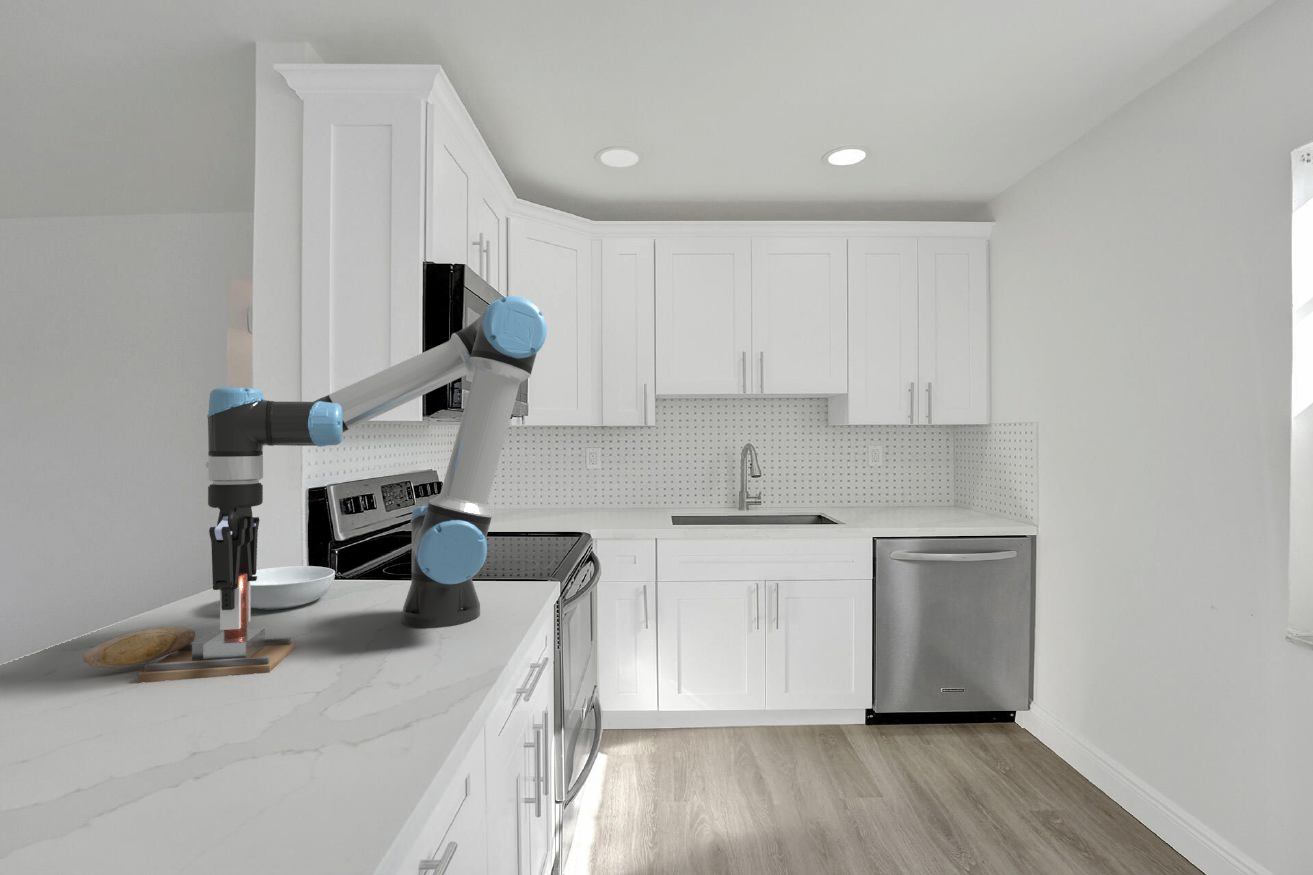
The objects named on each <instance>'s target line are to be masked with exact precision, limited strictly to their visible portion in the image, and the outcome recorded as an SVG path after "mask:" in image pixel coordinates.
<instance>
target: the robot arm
mask: <svg viewBox="0 0 1313 875" xmlns="http://www.w3.org/2000/svg"><path fill="white" fill-rule="evenodd" d="M547 332H548V326H547V321H546V318H545V316H544V314H543V313H542V311H541V309H540V308H539V307H538V306H537V305H536V304H534V303H533V302H532V301H530V299H527V298H524V297H523V296H522V297H521V296H516V295H514V296H513V295H510V296H504V297H501V298H498V299H495V300H494V301H492V302H491V303H490V304H489V305H488V306H487V307H486V309H485V311H484V312H483V313H481V315H480V316H479V317H478V318H477V319H475V321H473V322H472V323H470V324H469V325H467V326H465V327H464V328H462V329H460V330H459V331H455V332H453V333H452V334H451V336H450V340H447V341H446V342H443V343H441V344H440V345H437V346H435V347H432V348H430V349H428V350H426V351H424V352H422V353H419V354H417V355H415V356H413V357H410V358H407V359H406V360H403V361H401V362H399V363H397V364H395V365H392V366H391V367H388V368H386V369H383V370H381V371H379V372H377V373H375V374H372V375H370V376H368V377H365V378H363V379H361V380H359V381H356V382H354V383H352V384H350V385H348V386H345V387H343V388H341V389H339V390H336V391H334V392H332V393H330V394H328V395H325V396H323V397H320V398H318V399H316V400H313V401H274V400H265V397H264V393H263V391H262V390H261V389H260V388H253V387H227V386H223V387H216V388H214V389H212V390H211V391H210V393H209V399H208V401H209V402H208V413H207V415H206V416H207V417H206V418H207V431H208V432H207V435H208V436H207V437H208V438H207V439H208V461H207V462H205V467H206V468H208V476H207V478H208V480H209V481H211V482H212V483H211V484H209V486H208V487H207V504H208V506H209V507H210V508H213V509H218V510H219V514H218V519H217V523H216V524H217V526H210V527H209V530H208V533H209V538H210V543H211V544H210V545H211V564H212V565H211V570H212V572H211V573H212V591H213V590H214V591H218V590H219V630H220V631H224V630H230V629H240V628H241V588H237V587H238V578H239V573H247V623H251V607H250V590H251V582H249V581H256V580H257V576H252V575H255V574H256V570H257V559H258V537H259V535H258V534H259V532H258V530H259V526H260V525H259V524H260V517H259V516H253V509H252V508H253V507H257V506H261V505H262V504H263V501H264V496H263V494H264V491H263V490H264V488H263V484H262V483H261V482H260V481H261V480H262V479H263V478H264V456H263V454H264V452H263V449H264V446H269V447H270V446H271V447H274V446H282V447H283V446H288V447H290V446H291V447H293V446H295V447H296V446H297V447H303V446H304V447H305V446H306V447H310V446H311V447H314V446H315V447H318V448H319V447H321V448H322V447H327V446H337V445H339V444H341V443H342V441H343V433H345V432H346V431H348V430H351V429H353V428H355V427H357V426H359V425H362V424H364V423H366V422H368V421H370V420H372V419H374V418H377V417H378V416H381V415H383V414H385V413H387V412H389V411H392V410H393V409H396V408H398V407H400V406H402V405H405V404H407V403H409V402H411V401H413V400H415V399H417V398H419V397H422V396H424V395H426V394H428V393H430V392H432V391H434V390H436V389H438V388H441V387H443V386H445V385H447V384H450V383H452V382H454V381H456V380H458V379H461V378H462V377H464V376H468V375H469V376H472V381H471V385H470V388H469V391H468V395H467V398H466V402H465V406H464V409H463V412H462V416H461V420H460V423H459V427H458V430H457V433H456V437H455V440H454V444H453V447H452V450H451V451H452V452H451V455H450V459H449V462H448V466H447V470H446V473H445V476H444V480H443V482H442V487H441V490H440V493H439V494H437V495H436V496H435V497H434V498H433V497H432V499H430V500H429V502H428V505H426V506H425V505H423V506H417V507H414V509H412V513H411V518H410V519H411V520H410V524H411V581H410V585H409V589H408V592H407V595H406V597H405V601H404V604H403V607H402V611H401V621H402V622H401V623H403V625H405V626H408V627H411V628H412V627H413V628H418V629H440V628H448V627H455V626H460V625H463V624H467V623H470V622H473V621H475V620H477V619H478V618H479V617H480V616H481V603H480V600H479V596H478V594H477V591H476V588H475V585H474V581H473V579H472V578H473V577H474V576H476V575H477V573H479V571H480V570H481V569H482V567H483V565H484V564H485V562H486V559H487V554H488V545H487V544H488V542H487V536H488V532H489V530H490V525H491V521H492V517H493V514H492V513H491V511H490V509H489V506H488V505H487V504H488V502H489V501H488V500H489V498H490V494H491V489H492V486H493V483H494V479H495V476H496V471H497V469H498V465H499V461H500V457H501V454H502V451H503V447H504V443H505V439H506V435H507V431H508V429H509V425H510V421H511V418H512V414H513V411H514V410H513V409H514V406H515V403H516V399H517V396H518V391H519V389H520V388H519V387H520V385H521V383H522V382H524V381H525V380H527V379H530V378H531V374H532V371H533V367H534V364H535V361H536V357H537V353H538V352H539V351H540V350H541V349H542V348H543V345H544V344H545V341H546V338H547V335H548V333H547Z"/></svg>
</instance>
